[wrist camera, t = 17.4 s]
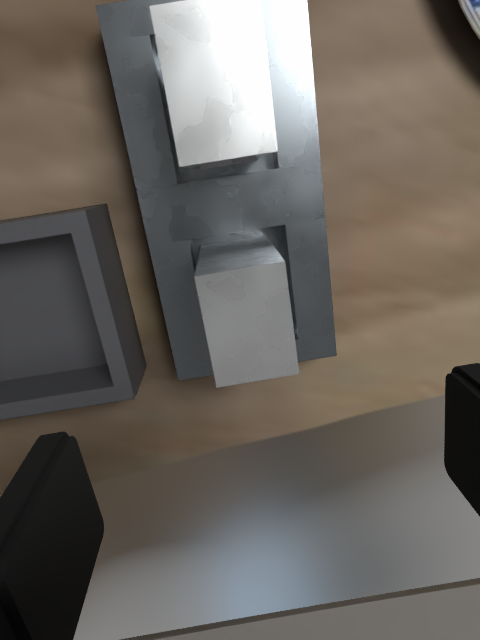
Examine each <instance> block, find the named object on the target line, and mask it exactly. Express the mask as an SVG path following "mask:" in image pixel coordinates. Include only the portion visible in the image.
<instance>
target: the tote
mask: <svg viewBox="0 0 480 640" xmlns="http://www.w3.org/2000/svg"><path fill="white" fill-rule="evenodd" d="M145 369H146V362H145V358H144V354H143V350H142V346H141V342H140V338H139V334H138V329H137V325H136V321H135V317H134V313H133V309H132V305H131V301H130V297H129V293H128V289H127V285H126V281H125V277H124V272H123V268H122V264H121V260H120V256H119V252H118V248H117V244H116V240H115V236H114V232H113V228H112V224H111V220H110V215H109V211H108V207H107V204H102V205H95V206H89V207H83V208H77V209H70V210H64V211H58V212H52V213H45V214H39V215H33V216H26V217H20V218H14V219H8V220H1V221H0V420H2V419H9V418H15V417H22V416H28V415H34V414H41V413H47V412H53V411H60V410H66V409H72V408H79V407H85V406H92V405H98V404H104V403H111V402H117V401H123V400H130V399H135V396H136V394H137V391H138V388H139V385H140V383H141V380H142V377H143V375H144V372H145Z"/></svg>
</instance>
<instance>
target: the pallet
mask: <svg viewBox="0 0 480 640" xmlns="http://www.w3.org/2000/svg"><path fill="white" fill-rule="evenodd" d="M177 1H183V0H127V1H121V2H115V3H109V4H103V5H96V10H97V15H98V19H99V24H100V28H101V33H102V37H103V42H104V46H105V51H106V55H107V60H108V64H109V69H110V73H111V78H112V82H113V87H114V91H115V96H116V100H117V105H118V110H119V114H120V119H121V123H122V128H123V132H124V137H125V141H126V146H127V150H128V155H129V159H130V164H131V168H132V173H133V177H134V182H135V186H136V191H137V195H138V200H139V204H140V209H141V213H142V218H143V223H144V227H145V232H146V236H147V241H148V245H149V250H150V254H151V259H152V263H153V268H154V272H155V277H156V281H157V286H158V290H159V295H160V299H161V304H162V308H163V313H164V317H165V322H166V327H167V331H168V336H169V340H170V345H171V349H172V354H173V358H174V363H175V367H176V372H177V376H178V381H179V380H185V379H192V378H198V377H204V376H211V375H214V372H213V367H212V362H211V357H210V352H209V347H208V342H207V337H206V332H205V327H204V323H203V318H202V313H201V308H200V303H199V298H198V293H197V288H196V283H195V278H194V276H195V271H196V267H197V262H198V258H199V254H200V249H201V246H205V245H211V244H216V243H222V242H228V241H234V240H240V239H246V238H252V237H258V236H264V235H266V236H267V237H268V239H269V240H270V241H271V243H272V244H273V245H274V247H275V248H276V250H277V251H278V252H279V254H280V255H281V256H282V258H283V259H284V261H285V265H286V273H287V281H288V289H289V296H290V304H291V312H292V320H293V328H294V335H295V343H296V351H297V359H298V362H300V361H306V360H312V359H319V358H325V357H331V356H337V354H336V342H335V330H334V318H333V306H332V294H331V282H330V270H329V258H328V246H327V233H326V221H325V209H324V197H323V185H322V173H321V161H320V149H319V137H318V125H317V113H316V101H315V89H314V77H313V65H312V53H311V41H310V29H309V17H308V5H307V0H261V5H262V14H263V22H264V31H265V40H266V49H267V58H268V67H269V76H270V84H271V93H272V102H273V111H274V120H275V129H276V137H277V146H278V151H277V152H273V153H270V154H267V155H264V156H261V157H257V160H255V161H250V162H244V163H237V164H231V165H225V166H218V167H212V168H206V169H201V166H199V167H193V168H188V167H179V162H178V157H177V152H176V146H175V141H174V135H173V130H172V125H171V119H170V114H169V109H168V103H167V98H166V92H165V87H164V82H163V76H162V71H161V66H160V60H159V55H158V49H157V44H156V39H155V33H154V28H153V23H152V17H151V12H150V7H149V6H152V5H158V4H165V3H171V2H177Z"/></svg>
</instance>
